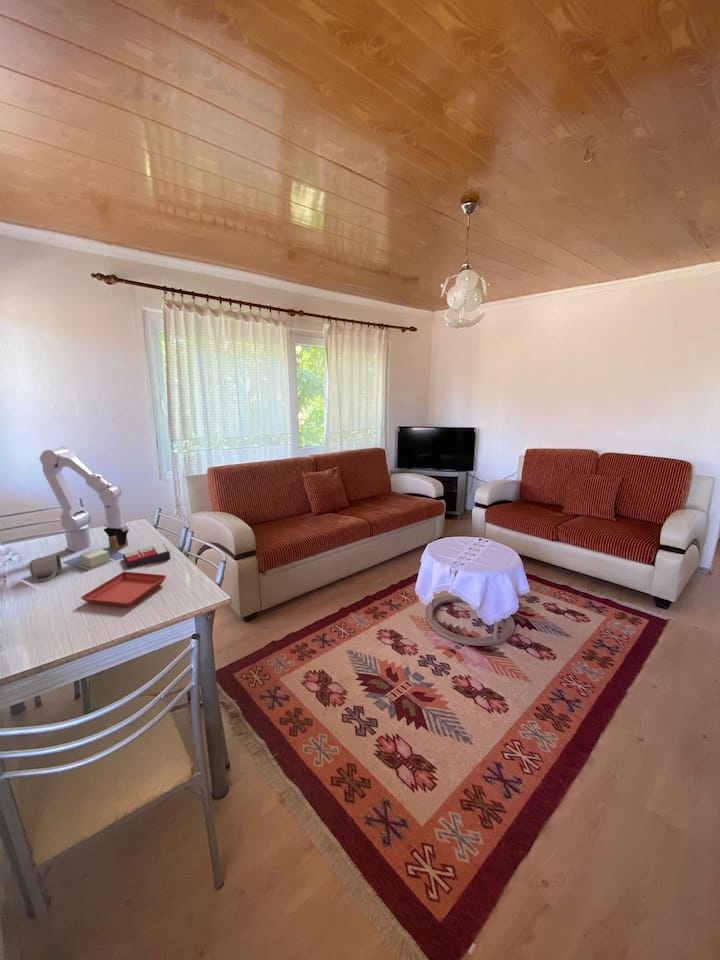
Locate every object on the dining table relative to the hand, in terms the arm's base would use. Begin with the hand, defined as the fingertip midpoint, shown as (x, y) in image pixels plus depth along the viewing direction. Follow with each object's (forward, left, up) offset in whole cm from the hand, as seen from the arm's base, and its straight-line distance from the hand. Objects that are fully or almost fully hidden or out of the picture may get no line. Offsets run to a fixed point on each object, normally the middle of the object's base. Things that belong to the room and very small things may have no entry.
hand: (118, 544), depth 168 cm
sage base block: (+9, -14, -1) cm, 17 cm away
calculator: (+23, -2, -2) cm, 24 cm away
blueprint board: (+5, -12, -2) cm, 13 cm away
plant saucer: (+43, -22, -2) cm, 48 cm away
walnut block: (0, 0, -2) cm, 2 cm away
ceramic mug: (+4, -28, -2) cm, 29 cm away
